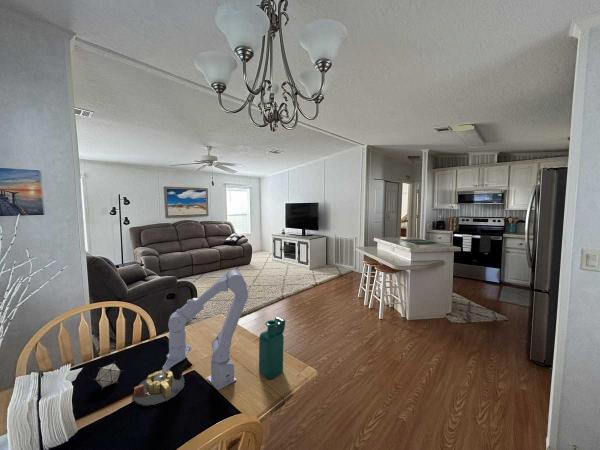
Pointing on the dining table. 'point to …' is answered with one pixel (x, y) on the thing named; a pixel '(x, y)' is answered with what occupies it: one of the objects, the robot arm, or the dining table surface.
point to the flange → (149, 399)
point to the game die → (108, 375)
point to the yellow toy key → (160, 384)
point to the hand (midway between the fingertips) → (177, 378)
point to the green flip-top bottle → (272, 349)
